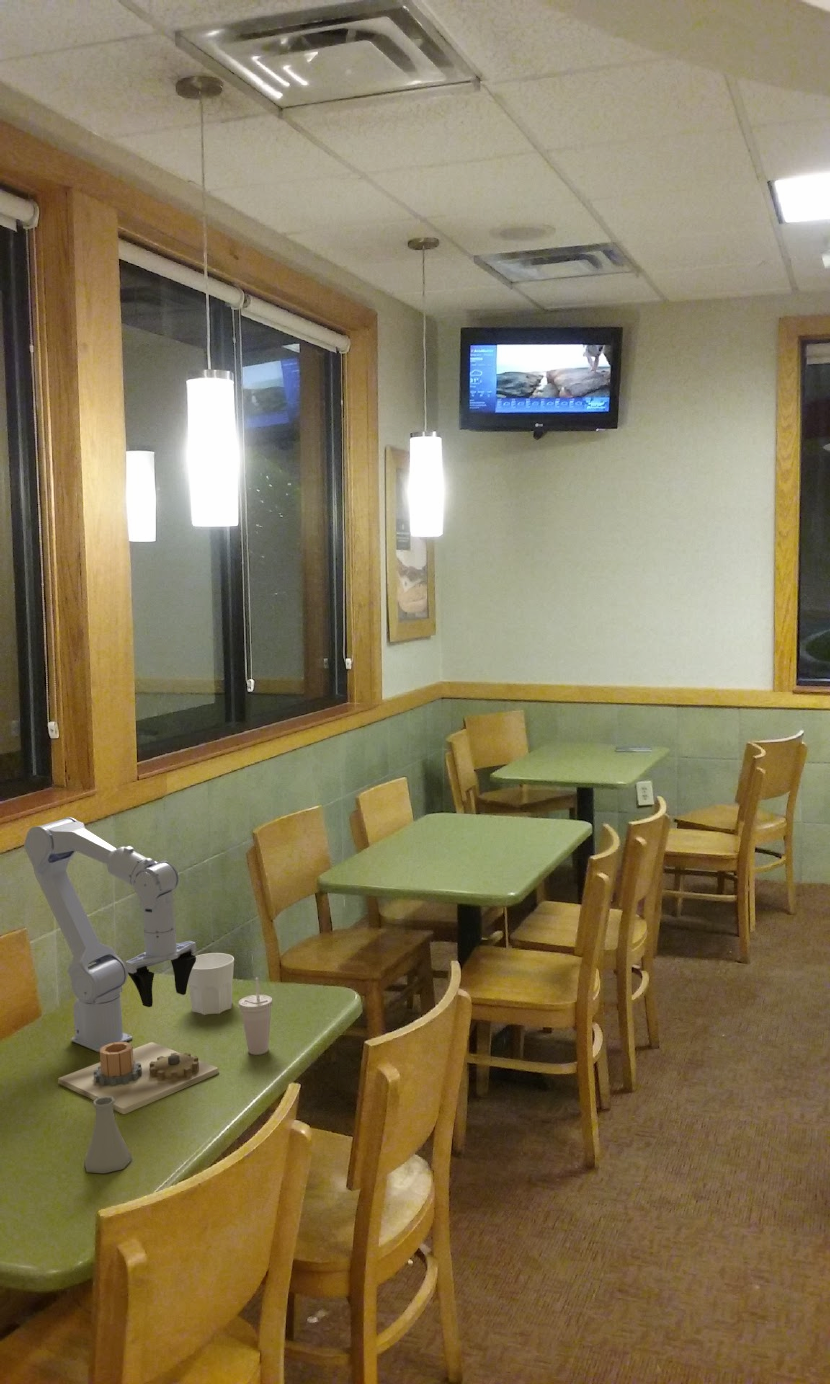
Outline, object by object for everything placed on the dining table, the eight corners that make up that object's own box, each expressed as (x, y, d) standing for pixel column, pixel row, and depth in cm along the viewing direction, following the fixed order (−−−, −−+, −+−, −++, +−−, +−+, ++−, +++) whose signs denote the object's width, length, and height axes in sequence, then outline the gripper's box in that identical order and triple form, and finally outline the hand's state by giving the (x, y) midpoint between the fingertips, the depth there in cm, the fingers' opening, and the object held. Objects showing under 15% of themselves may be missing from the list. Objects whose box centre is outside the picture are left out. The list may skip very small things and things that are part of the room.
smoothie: (269, 1058, 218) (264, 984, 216) (236, 1057, 219) (231, 983, 217) (280, 1044, 224) (275, 972, 222) (247, 1043, 225) (243, 971, 224)
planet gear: (84, 1078, 210) (82, 1050, 209) (124, 1062, 216) (122, 1035, 215) (111, 1090, 204) (109, 1061, 204) (151, 1074, 210) (149, 1046, 210)
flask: (88, 1154, 184) (84, 1092, 183) (135, 1150, 185) (131, 1088, 184) (79, 1177, 177) (74, 1113, 176) (128, 1173, 178) (124, 1109, 177)
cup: (189, 1001, 249) (186, 955, 248) (237, 997, 250) (234, 951, 249) (186, 1018, 239) (182, 971, 238) (235, 1014, 240) (232, 967, 239)
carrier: (58, 1083, 211) (56, 1059, 210) (152, 1047, 225) (150, 1024, 225) (123, 1114, 197) (122, 1088, 197) (218, 1073, 212) (217, 1049, 211)
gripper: (139, 942, 211) (144, 1016, 213) (204, 922, 222) (208, 992, 224) (116, 936, 216) (122, 1008, 218) (181, 916, 227) (186, 985, 228)
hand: (164, 999), depth 221 cm, fingers open, 7 cm apart
